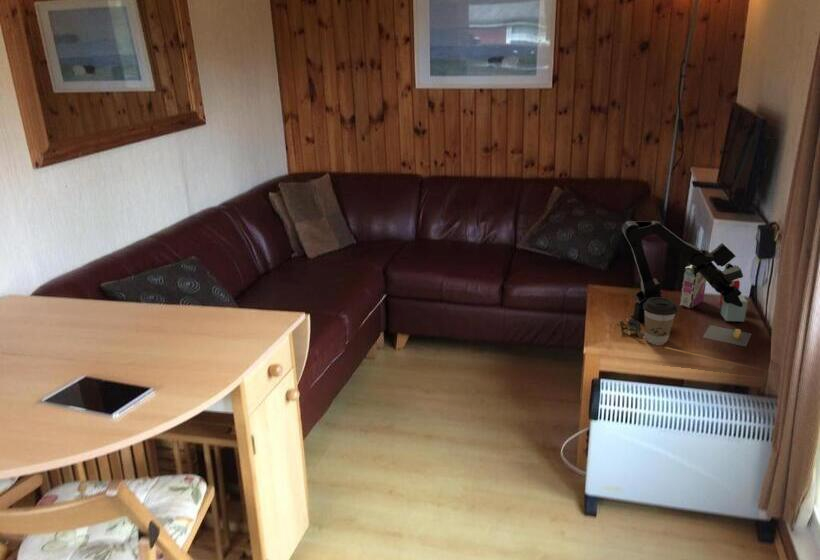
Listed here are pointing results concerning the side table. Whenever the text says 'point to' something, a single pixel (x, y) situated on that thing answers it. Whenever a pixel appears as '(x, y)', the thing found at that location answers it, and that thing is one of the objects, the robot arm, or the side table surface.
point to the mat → (727, 335)
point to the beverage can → (734, 282)
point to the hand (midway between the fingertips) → (738, 302)
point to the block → (734, 310)
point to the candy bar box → (692, 288)
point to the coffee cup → (658, 319)
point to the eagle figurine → (632, 327)
